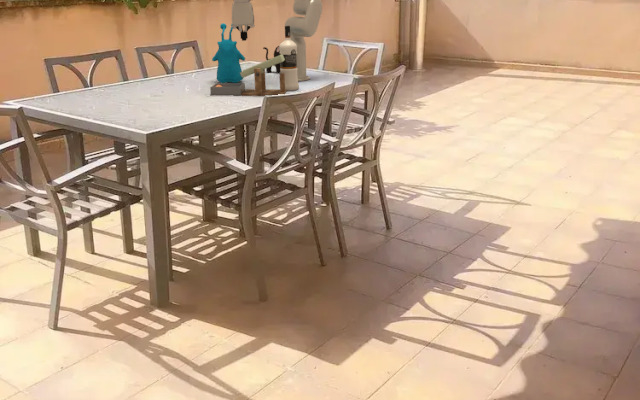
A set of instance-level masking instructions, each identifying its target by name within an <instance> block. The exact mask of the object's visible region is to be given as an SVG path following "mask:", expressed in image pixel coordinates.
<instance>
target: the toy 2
mask: <svg viewBox="0 0 640 400" xmlns="http://www.w3.org/2000/svg"><path fill="white" fill-rule="evenodd" d="M279 46H280V45H278V46H277V47H275V49H274V51H273V58H274V57H277V56H279V55H280V50H279ZM262 49H263V50H266V52H265V53H266V54H265V61H267V60H269V59H270V58H268V57H269V56H268V55H269V49H268V47H266V46H265V47H264V46H263V47H262ZM272 67H275V72H276V74H280V73H281V72H280V68H281V67H280V63H278V64H276V65H273V66H271V67H268V68H266V69H265V73H267V74H269V73H271V72H273V71H272Z"/></svg>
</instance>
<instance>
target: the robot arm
mask: <svg viewBox="0 0 640 400" xmlns="http://www.w3.org/2000/svg"><path fill="white" fill-rule="evenodd" d="M251 1H252V0H233V3H232V6H231V24H232V28H233V29H234V28H236V29H237V30H238V32H239V33H240V39H241V41H243V42H245V41H247V40H248V31H249V30H250V29H252V28H255V15H254V7H253V3H252V2H251ZM292 11H293V12H294V14H296V15H298V16H291V17H288V18H287V19H286V21H285V23H284V27H285V26H290V38H291V41H293V42H294V43H296V45H297V76H298V82H303V81H309V80H310V79H311V78H310V76H309V75H307V45H306V39H305V38H311V37H313V36H314V35H315V34H316V32H317V30H318V27H319V23H320V20H321V17H322V13H323V3H322V0H294V1H293V5H292ZM302 16H303V17H302ZM236 25H237V26H236ZM243 26H244V28H243ZM236 29H235V30H236Z"/></svg>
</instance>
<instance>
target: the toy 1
mask: <svg viewBox="0 0 640 400" xmlns="http://www.w3.org/2000/svg"><path fill="white" fill-rule="evenodd" d="M236 26H238V25H236ZM219 27H220V29H221V30H222V32H221V34H220V35H221V41H217V45H218V50H217V51H216V53H215V55H214V56H213V57H212V58H211V61H212V62H217V70H216V81H218V83H240V82H241V81H243V79H244V78H242V77H241V74H240V72H242V71H243V70H242V67H241V63H240V60H241V61H242V62H243V61H244V62H245V60H246V57H245V56H244V55H243V54H242V53H241V51H240V50H239V49H238V48H237V43H238V41H235V40H233V39H232V32H233V29H235V30H236V28H232V23H231V27H230V30H229V34H228V39H227V38H226V39H225V32H226V31H225V30H226V29H227V24H226V23H221V24H220V25H219Z"/></svg>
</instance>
